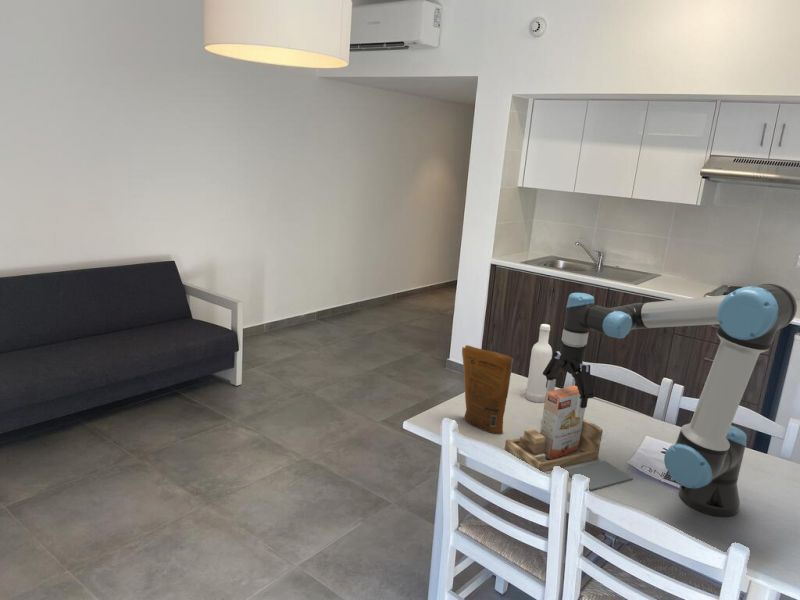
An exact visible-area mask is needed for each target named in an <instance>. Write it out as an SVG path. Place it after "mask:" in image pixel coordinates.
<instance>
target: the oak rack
mask: <svg viewBox="0 0 800 600" xmlns="http://www.w3.org/2000/svg"><path fill="white" fill-rule="evenodd" d="M602 434H603V429H602V428H601V427H599V426H598V425H596V424H594V423H592V422H591V421H589V420H587V419H585V418H583V424H582V430H581V435H580V441H579V447H578V450H580V451H581V452H580V453H575V454H572V455H565V456H561V457H557V458H554V459H551V460H549V459H548V460H545V461H544V462H540V461H539V460H537V459H536V458H534V457H533V456H532V455H530V454H529V453H527V452H526V451H525V450H523V449H522V448H520V447H519V441H520V437H519V438H515V439H509V438H508V439H505V441H504V442H505V443H504V449H505V450H506V451H507V452H509V453H510V454H511V455H513V456H514V455H515V458H517V457H518V458H520V459H521V460H523V461H525V462H526V463H528V464H530V465H531V466H533V467H535V468H537V469H539V470H540V471H542V472H541V473H544V472H547V471H551V470H554V469H553V467H554V466H560V467H561V468H565V467H569V466H572V465H573V466H574V465H576V464H581V463H584V462H589V461H594V460H598V459H599V454H600V453H599V452H600V448H601V442H602V436H603V435H602ZM518 458H517V459H518ZM520 459H519V460H520ZM521 460H520V461H521Z"/></svg>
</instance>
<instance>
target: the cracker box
mask: <svg viewBox="0 0 800 600" xmlns="http://www.w3.org/2000/svg"><path fill="white" fill-rule="evenodd" d="M584 394H585V393H584ZM578 397H580V393H579V390H578V387H577V385H576V384H574V385H569V386H566V387H563V388H562V387H561V388H558V389H555V390H554V391H550V392H546V397H545V402H544V403H543V404H544V405H543V409H542V410H543V411H542V417H541V418H542V419H541V423H540V424H541V425H540V429H539V430H540V431H539V433H540V434H542V435H543V436H544V437H546V438H545V451H544V454H545V455H546V457H545V459H548V461H549V460H553V459H558V458H561V457H564V456H567V455H568V454H571V453H573V452H576V451H579V449H578V447H579V441H580V435H581V430H582V424H583V419H585V418H584V417H585V415H584V416H583V417H578V418H577V417H575V414H576V408H577V402H578ZM585 411H586V410H585ZM585 411H584V413H585Z"/></svg>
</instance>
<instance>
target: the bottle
mask: <svg viewBox="0 0 800 600" xmlns="http://www.w3.org/2000/svg"><path fill="white" fill-rule="evenodd" d="M550 331H551V325H550V324H548V323H542V324H540V326H539V332H538V333H539V336H538V341H537V342H536V343H535V344H533V346H532V348H531V354H530V360H529V370H528V377H527V386H526V390H525V391H526V392H525V399H526V400H527V401H530V402H532V403H536V404H537V403H538V404H540V403H545V397H546V390H547V388H546V383H547V378H546V376H545V375H543V371H544V370H545V368H546V367H547V365H548V363H549V362H550V360H551V359H552V356H553V348H552V346H551V345H550V344H549V337H550Z"/></svg>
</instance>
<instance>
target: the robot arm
mask: <svg viewBox="0 0 800 600" xmlns="http://www.w3.org/2000/svg"><path fill="white" fill-rule="evenodd" d="M797 311H798V304H797V301H796V298H795V296H794V294H792V292H791V291H790V290H789V289H788V288H786V287H785V286H782V285H779V284H776V283H762V284H758V285H753V286H743V287H740V288H737V289H735V290H734V291H732V292H730V293H728V294H725V295H712V296H702V297H693V298H682V299H672V300H662V301H651V302H642V303H641V302H633V303H629V304H626V305H620V306H615V307H605V306H601V305H598V304H595V297H594V296H593V295H591V294H589V293H584V292H572V293H570V294H569V295H568V299H567V303H566V306H565V317H564V323H563V324H564V325H563V330H562V334H561V335H562V336H561V342H560V348H559V351H552V359H551V360H550V362H549V363H548V365H547V367H546V368H545V370H544V371H543V375H545V376H546V378H547V383H546V388H547V390H546V392H550V391H554V390H556V389H555V388H556V383H557V380H556V377H558V375H560V373H562V372H567V373H568V374H569V375H571V377H572V378H573V379H574V382H575V386H577V387H578V390H579V393H580V397H578V402H577V408H576V414H575V417H577V418H578V417H583V416H584V417H585V412H584V411H586V408H587V407H588V401H589V399H593V398H595V392H594V386H593V382H592V376H591V364H584V362H583V359H584V358H585V357H586V351H587V344H588V340H589V339H588V338H589V332H590V330H591V331H593V332H597V333H599V334H602V335H604V336H608V337H611V338H615V339H624V338H626V336H628V335H629V334H630V332H631V331H632V330H640V329H642V330H643V329H652V328H653V329H654V328H671V327H673V328H675V327H686V326H687V327H690V326H691V327H692V326H705V325H706V326H709V325H718V328H717V331H716V335H717V336H718V338H719V340H720V343H719V346H718V348H717V350H716V353H715V355H714V359H713V361H712V364H711V367H710V370H709V372H708V375H707V378H706V380H705V383H704V386H703V388H702V391H701V393H700V395H699V399H698V401H697V405H696V407H695V408H694V409H695V410H694V412H693V416H692V418H691V421H690V422H689V423H686V424H684V425H682V427H681V428H680V430H679V434H678V437H677V439H676V441H675V443H674V444H672V445H670V446H669V447H668V449H667V450H666V451H665V454H664V457H663V458H664V459H663V461H664V466H665V468H666V471H667V472H668V474H669V475H670V477H671V478H672V479H673V480H674V481H675V482H676V483H678V484H679V485H680V486H679V490H678V496H679V497H680V499H681V501H683V502H684V503H685V504H686V505H687V506H689V507H691V508H693V509H694V510H696V511H699V512H702V513H704V514H707V515H711V516H715V517H724V518H725V517H727V518H728V517H732V516H735V515H737V514H738V513H739V509H740V503H741V501H740V496H739V495H740V494H739V489H738V480H739V475H740V473H741V466H742V461H743V458H744V455H745V450H746V447H747V438H748V436H747V434H746V433H745V432H744V431H743V430H742V429H740V428H739V427H736V426H734V425H732V423H733V421H734V418H735V416H736V413H737V411H738V408H739V406H740V404H741V402H742V401H741V400H742V398H743V396H744V393H745V391H746V388H747V387H748V385H749V384H748V383H749V381H750V378H751V376H752V373H753V371H754V369H755V367H756V364H757V362H758V358H759V356H760V355H761V354H762V353H765V352H767V351H770V348H771V346H772V343H773V341H774V339H775V336H776V335H777V331H778V330H780V329H781V330H782V329H783V328H785V327H787V326H788V325H789V324H791V322H792V321H793V320H794V319H795V317H796V314H797ZM558 363H559V364H558ZM584 393H585V394H584Z"/></svg>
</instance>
